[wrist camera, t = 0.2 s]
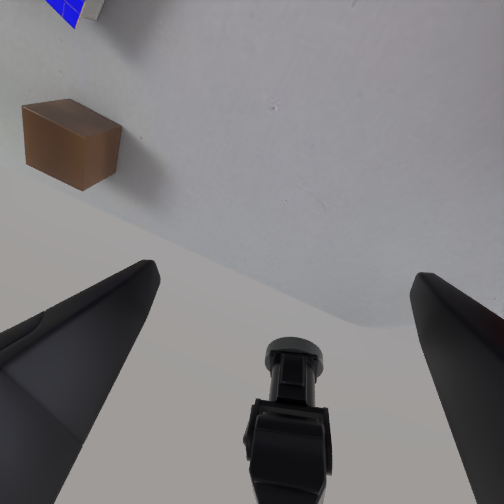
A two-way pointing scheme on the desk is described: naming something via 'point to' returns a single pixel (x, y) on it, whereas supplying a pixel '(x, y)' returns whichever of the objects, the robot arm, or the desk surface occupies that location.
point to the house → (77, 9)
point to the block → (70, 142)
